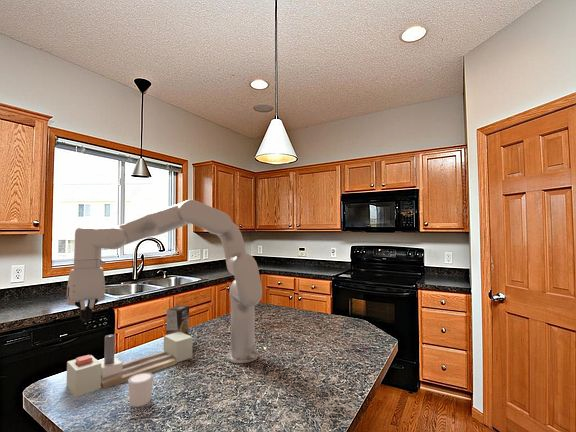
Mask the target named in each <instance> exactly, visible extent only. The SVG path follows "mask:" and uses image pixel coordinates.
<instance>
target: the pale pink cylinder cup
mask: <svg viewBox="0 0 576 432" xmlns="http://www.w3.org/2000/svg"><path fill="white" fill-rule="evenodd" d="M127 382H128V395H129V404H130V406H131V407H136V408H137V407H142V406H146V405H147V404H148V403H149V402H151V400H152V399H151V398H152V392H153V391H152V390H153V382H154V374H153V373H139V374H136V375H133V376H131V377H130V378H129V380H128V381H127Z"/></svg>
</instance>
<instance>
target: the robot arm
mask: <svg viewBox="0 0 576 432" xmlns="http://www.w3.org/2000/svg"><path fill="white" fill-rule="evenodd" d="M187 225H194V226H196V227H198V228H200V229H203V230H206V231H207V232H208V233H210V234H212V235H216V236H217V237H218V238H219V239H220V242H221V244H222V248H223V252H224V257H225V258H224V259H225V264H226V269H227V271H228V272H229V273H230V275H233V276H234V277H233V278H234V280H233V281H232V283H231V284H230V286H229V301H230V351H228V352H227V353H226V360H227V361H228V362H230V363H233V364H246V363H251V362H254V361H256V360H257V359H258V358H259V356H260V355H261V354H260V352H259V351H257V346H255V323H256V322H255V316H256V315H255V312H256V311H255V306H256V305H258V304H259V303H260V301H261V299H262V297H263V285H262V282H261V275H260V272H259V267H258V263H257V261H256V260H255V257H253V256H252V255H251V254H250V253H248V252H247V249H246V245H245V242H244V238H243V234H242V232H241V230H240V228H239V227H238V226H237V225H236V223H234V222H233V220H232V218H231V216H230V215H229V214H227V213H226V212H225V211H222V210H220V209H217V208H215V207H212V206H210V205H208V204H206V203H203V202H201V201H198V200H196V199H187V200H185V201H181V202H179V203H177V204H173V205H170V206H168V207H165V208H160V209H158V210H155V211H152V212H150V213H147V214H146V215H144V216H142V217H139V218H137V219H134V220H131V221H128V222H126V223H122V224H120V225H116V226H111V227H110V226H109V227H101V228H100V227H78V228H76V229H75V232H74V250H73V252H74V253H73V254H74V255H73V268H72V269H70V270H69V271H70V272H69V274H68V278H67V279H68V281H67V286H66V287H67V288H66V298H67V301H66V305H67V306H75V307H77V308H79V319H80V320H81V321H82V322H83V323H86V322H90V321H91V318H92V316H93V314H92V313H93V309H94V306H95V305H97V303H99V302H102V301H104V300H105V299H106V297H105V294H106V284H105V283H106V282H105V281H106V280H105V273H104V268H103V267H102V265H106V259H105V260H104V259H102V249H106V250H118V249H121V248H122V247H124V246H126V245H128V244H131V243H134V242H137V241H140V240H143V239H146V238H150V237H157V236H159V235H162V234H165V233H168V232H170V231H173V230H176V229H178V228H182V227H185V226H187ZM85 301H87V303H85Z"/></svg>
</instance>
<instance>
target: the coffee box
mask: <svg viewBox="0 0 576 432" xmlns="http://www.w3.org/2000/svg"><path fill="white" fill-rule="evenodd" d="M165 328H166V329H165V330H166V331H165V335H169V334H173V333H176V332H182V333H184V334H187V335H189V336H190V305H176V306H173V307H170V308H168V309H167V310H166V327H165Z"/></svg>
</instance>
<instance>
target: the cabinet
mask: <svg viewBox="0 0 576 432" xmlns="http://www.w3.org/2000/svg"><path fill="white" fill-rule="evenodd" d="M193 339H194V338H193V336H191V335H190V334H189V335H187V334H184V333H182V332H176V333H173V334H169V335H166V334H165V335H163V352H164V351H166V355H172V358H173V359H175V360H176V364H177V363H180V362H183V361H185V360H189V359H191V358H193Z"/></svg>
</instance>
